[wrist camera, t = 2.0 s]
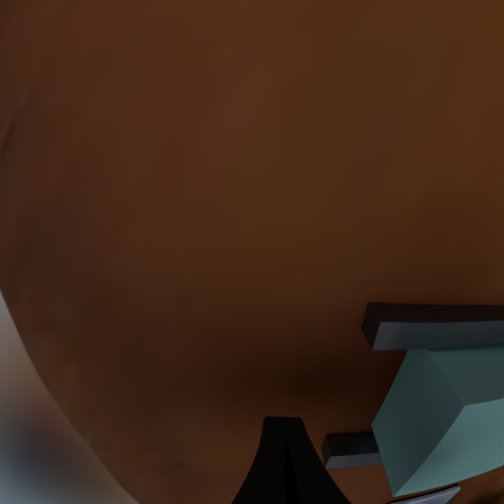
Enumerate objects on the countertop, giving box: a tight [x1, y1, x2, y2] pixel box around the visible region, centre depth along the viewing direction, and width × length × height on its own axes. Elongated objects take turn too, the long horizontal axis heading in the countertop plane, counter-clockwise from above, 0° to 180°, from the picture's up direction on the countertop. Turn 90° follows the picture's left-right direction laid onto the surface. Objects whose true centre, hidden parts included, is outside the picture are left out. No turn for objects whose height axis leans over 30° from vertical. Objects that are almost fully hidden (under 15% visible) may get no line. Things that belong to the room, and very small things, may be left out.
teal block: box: [371, 343, 504, 497], centre depth 11 cm, size 6×9×5 cm, turn 83°
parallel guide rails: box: [322, 303, 504, 468], centre depth 12 cm, size 9×15×2 cm, turn 85°
